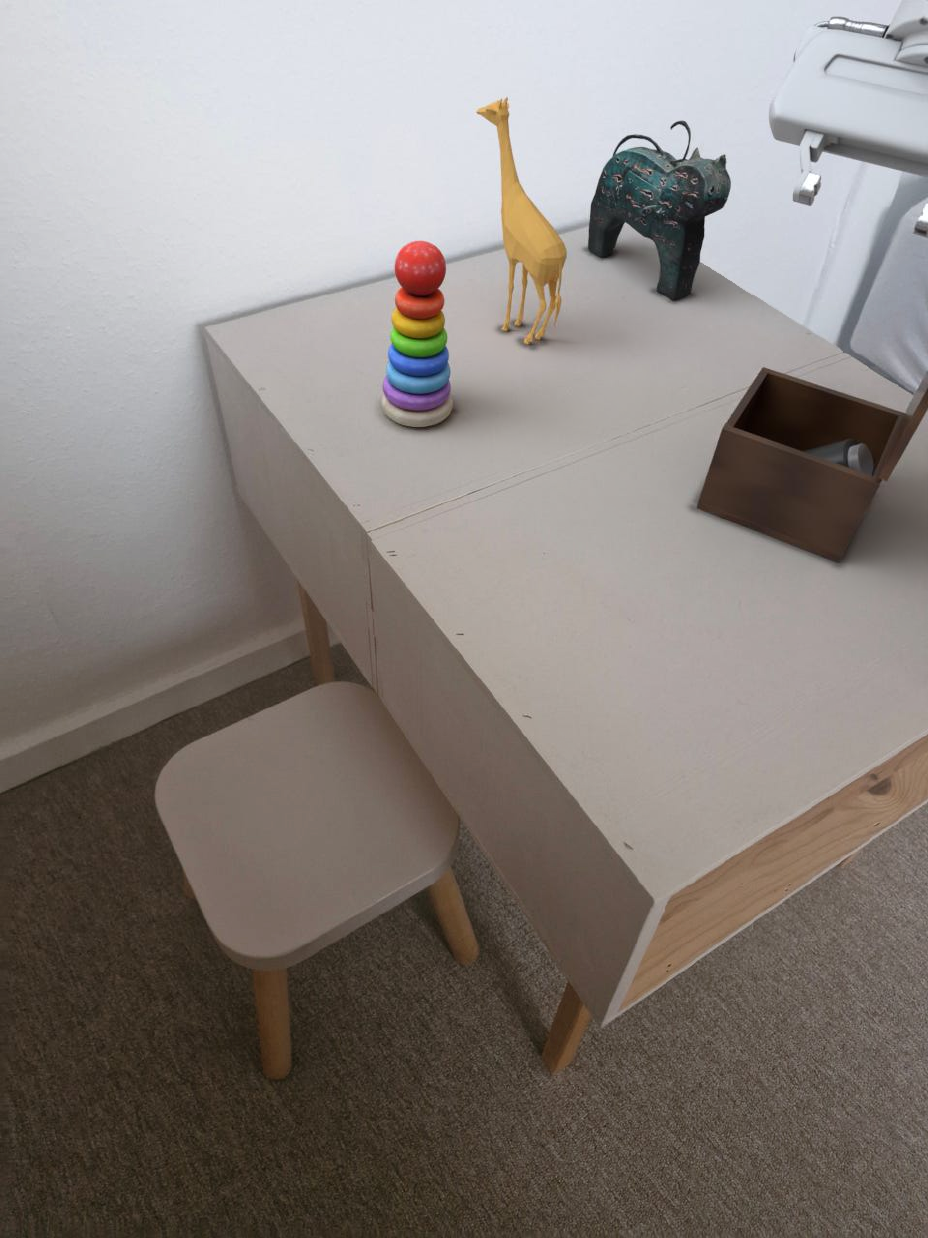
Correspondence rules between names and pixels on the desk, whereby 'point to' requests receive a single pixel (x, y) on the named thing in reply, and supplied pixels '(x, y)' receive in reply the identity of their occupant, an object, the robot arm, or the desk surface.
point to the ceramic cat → (659, 206)
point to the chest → (797, 463)
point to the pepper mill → (846, 455)
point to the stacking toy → (418, 341)
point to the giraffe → (525, 231)
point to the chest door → (907, 428)
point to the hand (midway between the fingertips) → (860, 216)
